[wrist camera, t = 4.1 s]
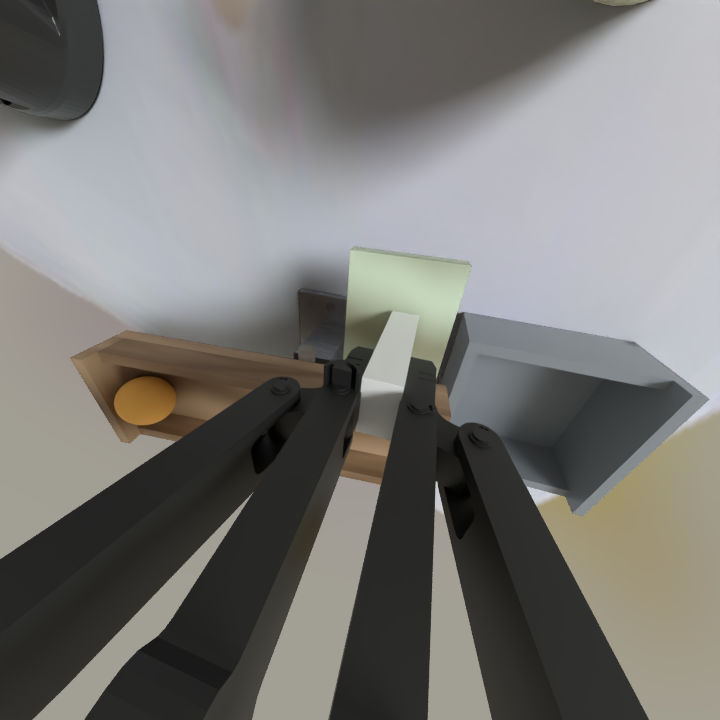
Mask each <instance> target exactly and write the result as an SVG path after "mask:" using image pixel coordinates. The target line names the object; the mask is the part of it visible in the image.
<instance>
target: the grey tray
mask: <svg viewBox="0 0 720 720" xmlns="http://www.w3.org/2000/svg"><path fill="white" fill-rule="evenodd" d="M440 385H446V387H447V393H448V399H449V405H450V411H451V420H450V422H451V423H452V424H454V425H456V426H458V427H461V425H463V424H465V423H470V422H474V423H479V424H482V425H484V426H486V427H489V428H490V429H491V430H493V431H494V432H495V433H497V435H498V436H499V437H500V439H501V440H502V442H503V444H504V446H505V448H506V450H507V452H508V453H509V455H510V457H511V459H512V461H513V463H514V465H515V467H516V469H517V471H518V472H519V474H520V476H521V478H522V480H523V482H524V484H525V486H528V487H532V488H535V489H539V490H543V491H547V492H550V493H554V494H558V495H562V496H565V497H566V499H567V501H568V504H569V506H570V509H571V511H572V513H573V514H577V515H580V516H584V515H585V514H586V513H587V512H588V511H589V510H590V509H591V508H592V507H593V506H594V505H595V504H597V502H599V501H600V500H601V499H602V498H603V497H604V496H605V495H606V494H607V493H608V492H609V491H611V490H612V489H613V488H614V487H615V486H616V485H617V484H618V483H619V482H620V481H621V480H623V479H624V478H625V477H626V476H627V475H628V474H629V473H630V472H631V471H632V470H633V469H635V468H636V466H638V465H639V464H640V463H641V462H642V461H643V460H644V459H645V458H646V457H648V455H650V454H651V453H652V452H653V451H654V450H655V449H656V448H657V447H658V446H659V445H661V444H662V443H663V442H664V441H665V440H666V439H667V438H668V437H669V436H670V435H671V434H672V433H674V432H675V431H676V430H677V429H678V428H679V427H680V426H681V425H682V424H683V423H684V422H685V421H687V420H688V419H689V418H690V417H691V416H692V415H693V414H694V413H695V412H696V411H697V410H698V409H700V408H701V407H702V406H703V405H704V404H705V403H706V402H707V401H708V400H709V398H708V397H706V396H705V395H704V394H702V393H701V392H700V391H698V390H697V389H696V388H694V387H693V386H692V385H690V384H689V383H688V382H687V381H685V380H684V379H683V378H681V377H680V376H679V375H677V374H676V373H675V372H673V371H672V370H671V369H669V368H668V367H667V366H665V365H664V364H663V363H662V362H660V361H659V360H658V359H656V358H655V357H654V356H652V355H651V354H650V353H648V352H647V351H646V350H644V349H643V348H642V347H640V346H639V345H638V344H637V343H635V342H631V341H625V340H619V339H614V338H608V337H602V336H597V335H591V334H585V333H580V332H574V331H568V330H563V329H557V328H551V327H546V326H540V325H534V324H529V323H523V322H517V321H511V320H506V319H500V318H494V317H489V316H483V315H477V314H472V313H466V312H464V313H463V316H462V320H461V323H460V326H459V329H458V332H457V335H456V338H455V341H454V344H453V347H452V350H451V353H450V356H449V359H448V362H447V365H446V368H445V371H444V374H443V378H442V381H441V384H440Z"/></svg>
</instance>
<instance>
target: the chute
mask: <svg viewBox="0 0 720 720" xmlns="http://www.w3.org/2000/svg"><path fill="white" fill-rule="evenodd" d="M471 267H472V265H471V264H470V263H469V262H468V261H463V260H455V259H447V258H439V257H432V256H424V255H416V254H409V253H401V252H393V251H385V250H378V249H370V248H362V247H355V246H354V247H353V248H352V249H351V250H350V263H349V278H348V293H347V308H346V324H345V339H344V354H343V360H345V359H346V358H347V356H348V354H349V353H350V351H351V350H352V349H354V348H356V347H358V346H360V347H365V348H369V349H374V350H375V348H376V346H377V344H378V342H379V339H380V337H381V335H382V333H383V331H384V328H385V326H386V324H387V322H388V320H389V318H390V315H391V313H392V311H397V312H402V313H408V314H413V315H418V316H419V320H418V325H417V330H416V335H415V339H414V344H413V349H412V354H411V357H414V358H419V359H424V360H428V361H432V362H433V363H434V365H435V367H436V368H437V371H436V379H437V375H438V372H439V369H440V366H441V363H442V359H443V356H444V353H445V350H446V347H447V343H448V340H449V337H450V334H451V331H452V327H453V324H454V321H455V318H456V315H457V311H458V308H459V305H460V302H461V299H462V295H463V292H464V289H465V286H466V283H467V279H468V276H469V273H470V270H471ZM298 359H299V360H295V359H289V358H284V357H278V356H272V355H266V354H261V353H255V352H249V351H243V350H237V349H232V348H226V347H220V346H214V345H209V344H203V343H197V342H191V341H185V340H180V339H174V338H168V337H162V336H156V335H151V334H145V333H139V332H133V331H128V330H126V331H125V332H122V333H120V334H118V335H116V336H114V337H112V338H110V339H108V340H106V341H104V342H102V343H100V344H97V345H95V346H93V347H91V348H89V349H87V350H85V351H83V352H81V353H79V354H77V355H75V356H73V357H71V360H72V362H73V364H74V365H75V367H76V369H77V370H78V372H79V374H80V375H81V377H82V379H83V380H84V382H85V383H86V385H87V387H88V388H89V390H90V392H91V393H92V395H93V396H94V398H95V400H96V401H97V403H98V404H99V406H100V408H101V410H102V411H103V413H104V414H105V416H106V418H107V419H108V421H109V423H110V424H111V426H112V428H113V429H114V431H115V433H116V434H117V436H118V437H119V439H120V441H121V442H125V443H131V442H132V441H133V440H134V439H136V438H137V437H138V436H139V435H140V434H143V435H148V436H153V437H158V438H163V439H167V440H172V441H178V440H180V439H181V438H183V437H184V436H186V435H187V434H188V433H190V432H191V431H193V430H194V429H196V428H197V427H199V426H200V425H202V424H203V423H205V422H206V421H208V420H209V419H211V418H212V417H214V416H215V415H217V414H218V413H220V412H221V411H223V410H224V409H226V408H227V407H229V406H230V405H232V404H233V403H235V402H236V401H238V400H239V399H241V398H242V397H244V396H245V395H247V394H248V393H250V392H251V391H253V390H254V389H256V388H257V387H259V386H260V385H262V384H263V383H265V382H266V381H268V380H270V379H272V378H275V377H280V376H282V377H291V378H294V379H295V380H297V381H298V382H299V384H300V388H319V387H322V385H323V376H324V364H318V363H315V348H314V347H312V346H309V345H305V346H301V347H299V348H298ZM143 376H153V377H158V378H161V379H163V380H165V381H167V382H168V383H169V384H170V385H171V386H172V387H173V388H174V390H175V393H176V404H175V407H174V409H173V410H172V412H171V413H170V414H169V415H168V416H167V417H166V418H164V419H163V420H161V421H159V422H157V423H154V424H150V425H135V424H131V423H128V422H126V421H125V420H123V419H122V418H121V417H120V416H119V415H118V414H117V412H116V410H115V407H114V399H115V396H116V393H117V392H118V390H119V389H120V388H121V387H122V386H123V385H124V384H125V383H127V382H128V381H130V380H132V379H135V378H138V377H143ZM435 406H436V407H437V411H438V413H439V414H440V415H441V416H442V417H443V418H444V419H446V420H447V421H449V422H450V420H451V411H450V405H449V399H448V393H447V387H446V385H440V384H436V393H435ZM356 425H357V424H356ZM390 442H391V441H390V440H386V439H383V438H379V437H375V436H372V435H368V434H364V433H361V432H357V431H356V427H355V430H354V432H353V439H352V444H351V446H350V449H349V452H348V454H347V457H346V460H345V462H344V465H343V468H342V470H341V473H340V476H342V477H347V478H352V479H356V480H361V481H366V482H371V483H376V484H380V485H381V482H382V478H383V473H384V469H385V464H386V460H387V455H388V451H389V447H390Z"/></svg>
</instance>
